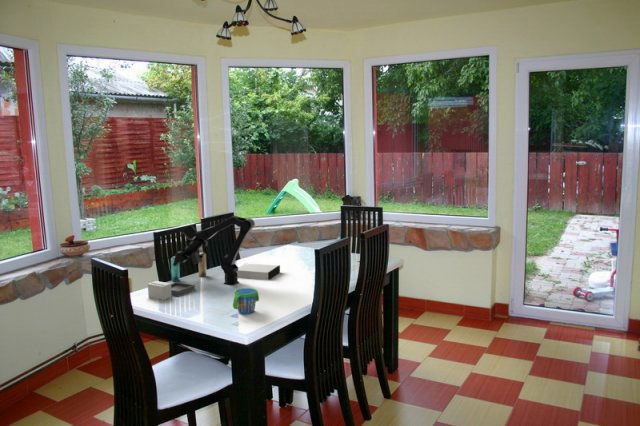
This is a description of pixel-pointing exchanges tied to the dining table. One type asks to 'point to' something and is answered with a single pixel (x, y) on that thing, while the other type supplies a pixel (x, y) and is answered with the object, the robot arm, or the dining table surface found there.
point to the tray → (181, 288)
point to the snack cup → (245, 300)
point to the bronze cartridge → (202, 266)
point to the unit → (159, 290)
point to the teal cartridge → (175, 270)
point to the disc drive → (258, 271)
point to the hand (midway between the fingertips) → (177, 263)
